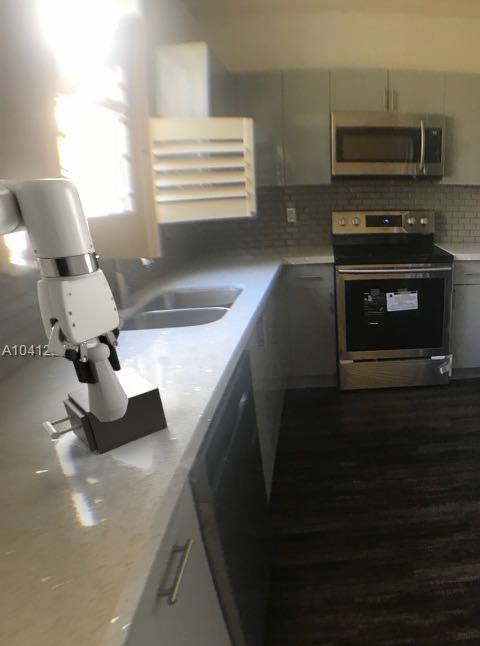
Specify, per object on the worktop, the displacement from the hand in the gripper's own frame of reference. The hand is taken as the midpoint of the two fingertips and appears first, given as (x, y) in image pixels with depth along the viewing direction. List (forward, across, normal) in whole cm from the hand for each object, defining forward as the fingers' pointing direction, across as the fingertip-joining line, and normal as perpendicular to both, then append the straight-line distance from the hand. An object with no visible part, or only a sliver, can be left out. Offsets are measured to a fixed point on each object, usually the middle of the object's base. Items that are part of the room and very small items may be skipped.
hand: (100, 375), depth 76 cm
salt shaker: (+8, 0, 0) cm, 8 cm away
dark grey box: (+21, -15, -14) cm, 29 cm away
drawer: (+20, -11, -16) cm, 28 cm away
